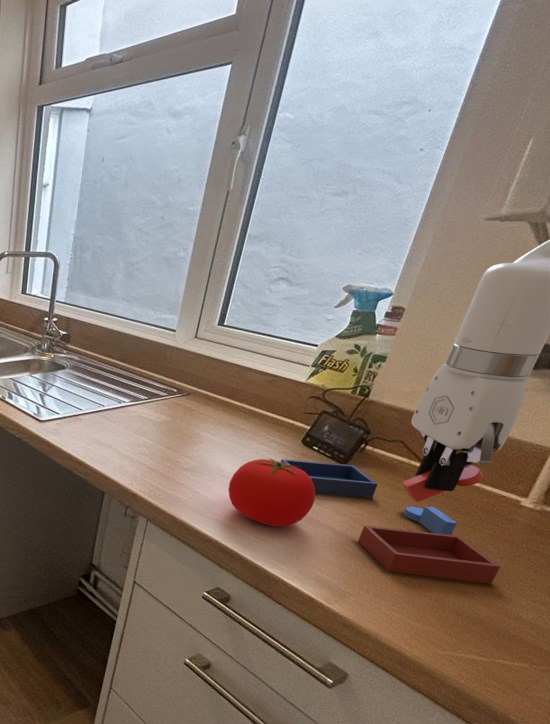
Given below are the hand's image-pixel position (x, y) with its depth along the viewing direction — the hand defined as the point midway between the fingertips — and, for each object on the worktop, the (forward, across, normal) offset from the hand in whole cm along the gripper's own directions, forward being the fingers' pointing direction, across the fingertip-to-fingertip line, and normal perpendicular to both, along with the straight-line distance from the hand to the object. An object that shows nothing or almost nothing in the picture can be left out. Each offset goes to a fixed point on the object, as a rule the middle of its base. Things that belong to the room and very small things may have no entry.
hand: (433, 485), depth 76 cm
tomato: (+12, -7, -16) cm, 22 cm away
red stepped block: (0, 0, +2) cm, 2 cm away
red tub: (+12, +1, +2) cm, 12 cm away
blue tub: (+12, -23, 0) cm, 26 cm away
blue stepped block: (+12, -11, +9) cm, 19 cm away
